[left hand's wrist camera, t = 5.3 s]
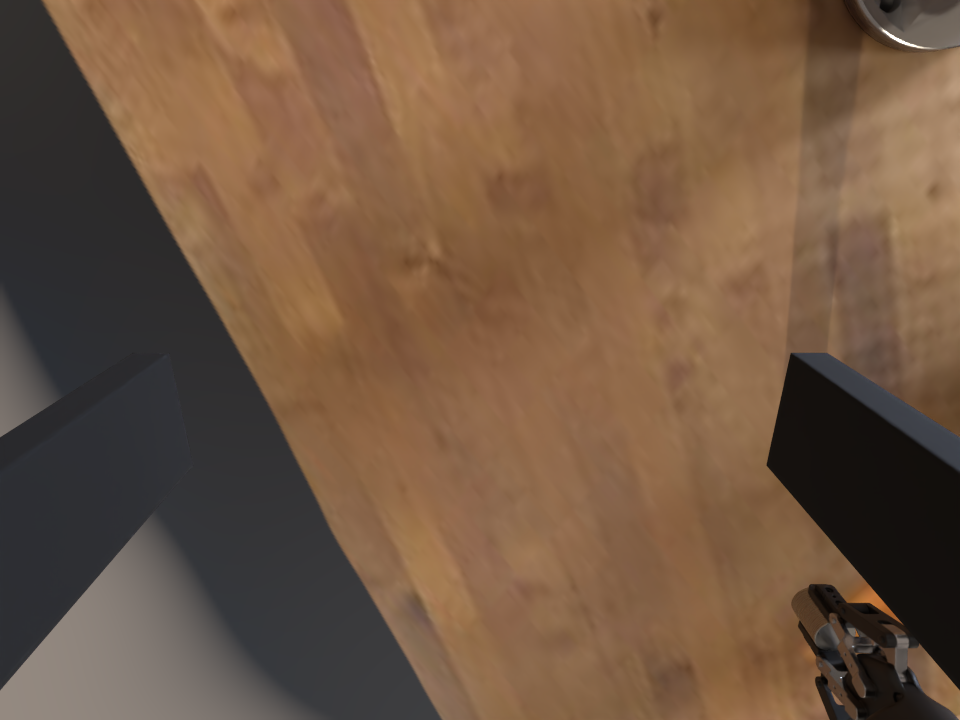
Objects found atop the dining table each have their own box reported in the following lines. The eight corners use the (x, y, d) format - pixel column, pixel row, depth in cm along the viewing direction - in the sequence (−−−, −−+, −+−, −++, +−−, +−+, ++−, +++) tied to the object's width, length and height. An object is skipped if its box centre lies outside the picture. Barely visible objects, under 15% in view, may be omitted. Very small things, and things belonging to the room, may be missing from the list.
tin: (796, 585, 54) (820, 620, 51) (834, 587, 55) (861, 621, 51) (786, 614, 56) (809, 650, 52) (823, 616, 56) (849, 652, 52)
